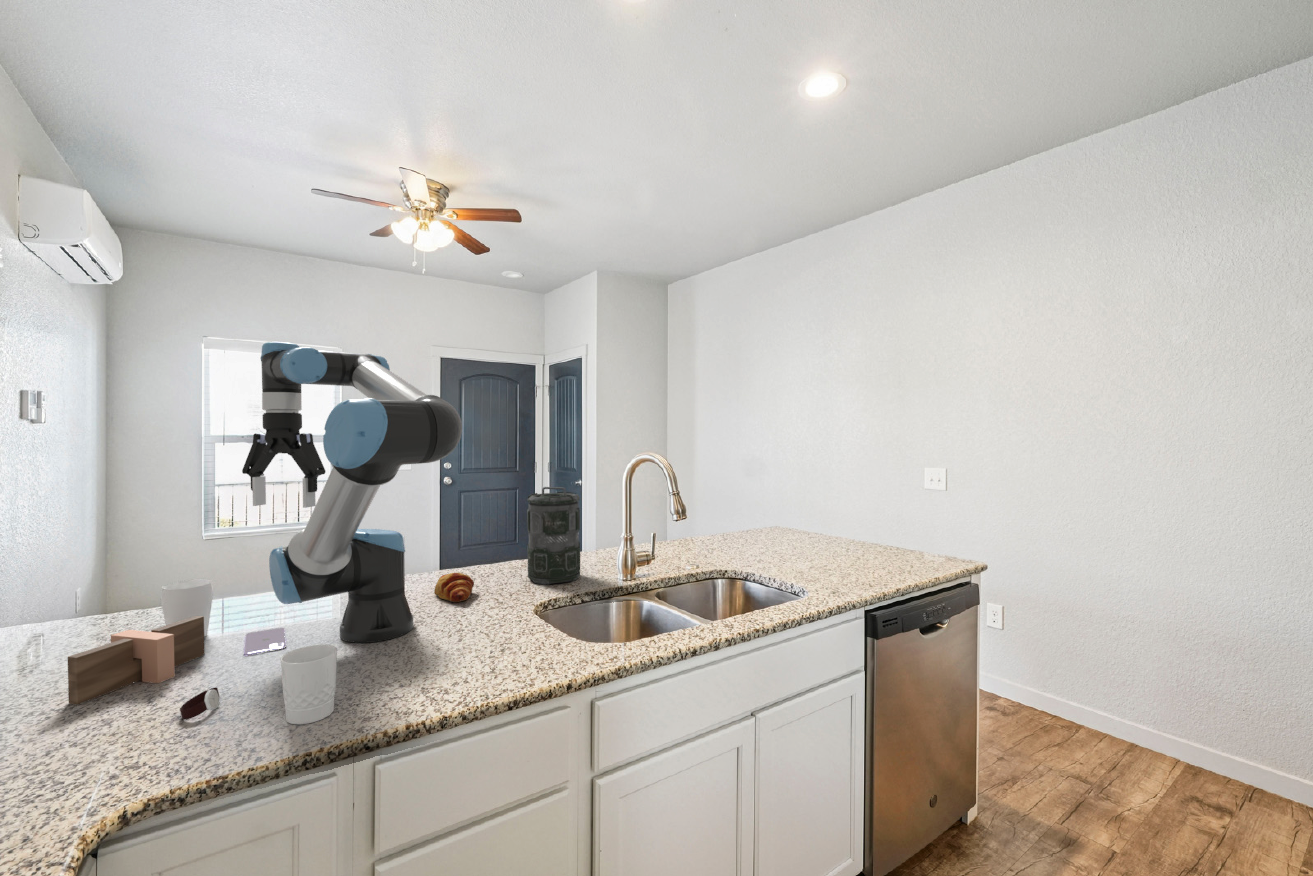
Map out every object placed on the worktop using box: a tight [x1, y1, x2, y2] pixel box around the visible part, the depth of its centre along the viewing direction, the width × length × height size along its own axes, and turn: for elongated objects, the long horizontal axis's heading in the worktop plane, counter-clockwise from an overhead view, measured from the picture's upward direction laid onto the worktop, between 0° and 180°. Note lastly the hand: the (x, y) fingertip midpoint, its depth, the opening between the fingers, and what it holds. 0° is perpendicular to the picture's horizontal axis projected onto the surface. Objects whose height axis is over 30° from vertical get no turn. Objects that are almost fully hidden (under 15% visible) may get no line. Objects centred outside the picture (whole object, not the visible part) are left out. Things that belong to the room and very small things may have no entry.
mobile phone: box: [243, 627, 288, 656], centre depth 129 cm, size 8×1×15 cm
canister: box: [526, 486, 581, 586], centre depth 180 cm, size 16×16×28 cm
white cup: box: [280, 644, 338, 725], centre depth 96 cm, size 8×8×10 cm
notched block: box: [110, 629, 176, 684], centre depth 110 cm, size 11×3×8 cm, turn 77°
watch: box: [179, 687, 220, 720], centre depth 98 cm, size 8×5×4 cm, turn 14°
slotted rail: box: [67, 616, 206, 706], centre depth 110 cm, size 2×22×8 cm, turn 167°
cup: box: [160, 578, 214, 638], centre depth 131 cm, size 9×9×12 cm
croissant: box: [434, 572, 475, 603], centre depth 163 cm, size 21×10×8 cm, turn 30°
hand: (284, 506), depth 134 cm, fingers open, 13 cm apart
